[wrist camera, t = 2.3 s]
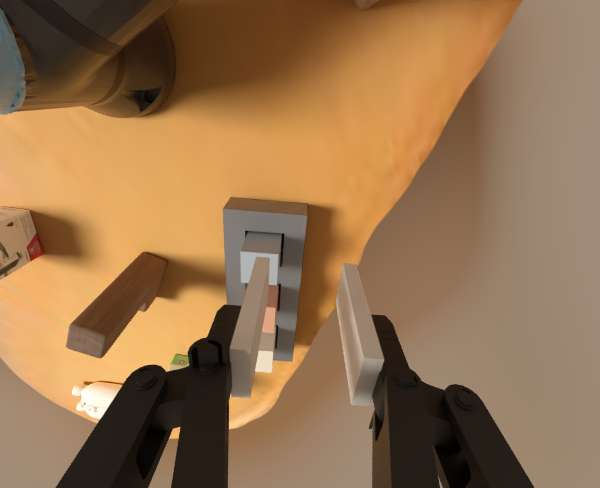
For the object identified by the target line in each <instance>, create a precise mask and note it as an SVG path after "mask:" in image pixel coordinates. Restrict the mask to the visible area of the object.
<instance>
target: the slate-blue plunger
mask: <svg viewBox="0 0 600 488" xmlns="http://www.w3.org/2000/svg"><path fill="white" fill-rule="evenodd" d="M281 243H282V233H271V232H258V231H248V233H247V236H246V239H245V241H244V244H243V246H242V249H241V251H240V259H241V283H249V280H250V276H251V273H252V269H253V266H254V262H255V259H256V257H267V258H270V263H269V285H277V281H278V274H279V267H280V260H281Z"/></svg>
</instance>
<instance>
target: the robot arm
mask: <svg viewBox="0 0 600 488" xmlns="http://www.w3.org/2000/svg"><path fill="white" fill-rule="evenodd" d="M177 1H178V0H0V114H8V113H13V112H16V111H29V110H41V109H53V108H66V107H78V106H83V107H86V108H88V109H91V110H93V111H95V112H98V113H100V114H103V115H106V116H111V117H117V118H131V117H138V116H143V115H146V114H149V113H151V112H153V111H154V110H156V109H157V108H158V107H160V106H161V105H162V104H163V102H164V101H165V100H166V99H167V97H168V95H169V93H170V91H171V89H172V86H173V83H174V78H175V71H176V60H175V52H174V46H173V43H172V39H171V36H170V33H169V31H168V28H167V26H166V24H165V22H164V20H163V19H162V17H161V15H162V14H164V13H165V12H166V11H167V10H168V9H169V8H170V7H172V6H173V5H174V4H175V3H176V2H177ZM269 263H270V258H267V257H256V259H255V262H254V266H253V269H252V273H251V276H250V280H249V283H248V287H247V290H246V294H245V297H244V300H243V304H242V306H238V305H223V306H222V307H221V308H220V309H219V310H218V311H217V314H216V316H215V319H214V321H213V324H212V326H211V329H210V331H209V334H208V336H207V338H202V339H200V340H198V341H196V342H195V343H194V344H193V345H192V346H191V347H190V348H189V351H188V359H189V366H187V367H184V368H181V369H177V370H172V371H167V372H165V370H164V369H163V368H162V367H161V366H158V365H146V366H143V367H141V368H139V369H137V370H135V371H134V372H132V373H131V375H130V376H129V377H128V378H127V379H126V381H125V382H124V384H123V385H122V387H121V388H120V390H119V391H118V393H117V395H116V396H115V398H114V399H113V401H112V402H111V404H110V405H109V407H108V408H107V410H106V411H105V413H104V414H103V416H102V418H101V419H100V421H99V422H98V424H97V425H96V427H95V428H94V430H93V431H92V433H91V435H90V436H89V437H88V439H87V441H86V442H85V444H84V445H83V447H82V448H81V450H80V451H79V453H78V454H77V456H76V457H75V459H74V461H73V462H72V463H71V465H70V467H69V468H68V470H67V471H66V473H65V474H64V476H63V477H62V479H61V480H60V482H59V483H58V485H57V486H56V488H148V487H149V484H150V482H151V479H152V477H153V475H154V472H155V470H156V467H157V465H158V463H159V460H160V458H161V456H162V453H163V451H164V448H165V446H166V444H167V441H168V439H169V437H170V434H171V432H172V429H173V428H177V427H181V428H180V434H179V441H178V447H177V453H176V460H175V466H174V473H173V480H172V485H171V488H228V436H229V435H228V434H229V398H230V394H231V397H240V398H250V397H251V391H252V386H253V380H254V374H255V368H256V363H257V357H258V351H259V346H260V340H261V334H262V329H263V323H264V317H265V311H266V306H267V300H268V288H269ZM336 305H337V312H338V319H339V325H340V332H341V339H342V345H343V352H344V359H345V365H346V372H347V378H348V385H349V392H350V398H351V405H364V406H370V403H371V400H372V398H373V402H374V407H375V410H374V413H373V416H372V419H371V422H370V425H369V428H370V429H372V427H373V457H372V460H373V463H372V464H373V465H372V467H373V468H372V469H373V471H372V477H373V479H372V486H373V487H372V488H440V485H439V479H440V481H441V484H442V486H443V488H534V486H533V485H532V483H531V481H530V480H529V478H528V476H527V475H526V473H525V471H524V470H523V468H522V467H521V465H520V463H519V461H518V460H517V458H516V456H515V455H514V453H513V451H512V450H511V448H510V447H509V445H508V443H507V442H506V440H505V438H504V436H503V435H502V433H501V432H500V430H499V428H498V427H497V425H496V423H495V422H494V420H493V418H492V417H491V415H490V413H489V412H488V410H487V408H486V407H485V405H484V403H483V402H482V400H481V399H480V398H479V397H478V395H477V394H475V393H474V392H473V391H472V390H470V389H469V388H466V387H464V386H462V385H457V384H454V385H449V386H448V387H447V388H446V389H445V390H442V389H439V388H436V387H433V386H430V385H428V384H426V383H424V382H422V381H421V379H420V378H419V376H418V375H417V374H416V373H415V372H414V371H412V370H411V369H410V368H409V366H408V363H407V361H406V358H405V356H404V353H403V350H402V348H401V345H400V342H399V341H398V337H397V335H396V332H395V329H394V326H393V324H392V323H391V322H390V320H389V319H388V318H387V317H386V316H383V315H371V313H370V310H369V306H368V303H367V300H366V296H365V293H364V290H363V286H362V283H361V280H360V277H359V273H358V270H357V266H356V264H343V265H342V270H341V276H340V281H339V287H338V293H337V298H336ZM438 476H439V479H438Z"/></svg>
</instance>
